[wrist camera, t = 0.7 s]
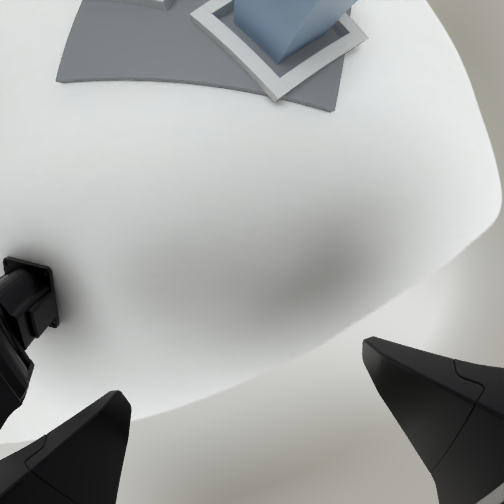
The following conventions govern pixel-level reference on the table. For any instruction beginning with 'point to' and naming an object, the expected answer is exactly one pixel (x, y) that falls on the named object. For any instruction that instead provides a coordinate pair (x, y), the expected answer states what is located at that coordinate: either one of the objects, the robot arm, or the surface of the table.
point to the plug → (287, 22)
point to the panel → (200, 50)
